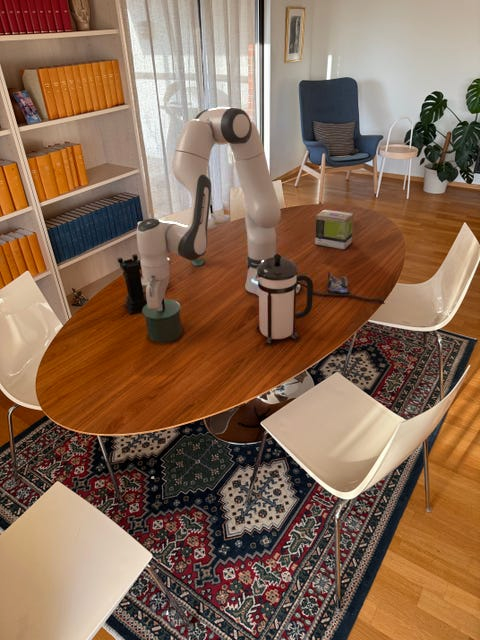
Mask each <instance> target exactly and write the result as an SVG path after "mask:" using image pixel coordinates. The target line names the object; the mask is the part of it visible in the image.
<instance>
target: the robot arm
mask: <svg viewBox="0 0 480 640" xmlns="http://www.w3.org/2000/svg"><path fill="white" fill-rule="evenodd" d="M182 127H183V128H182V129H181V131H180V134H179V136H178V139H177V143H176V146H175V149H174V154H173V157H172V161H171V162H172V163H171V170H172V173H173V175H174V177H175V179H176V180H177V181H178V182H179V183H180V184H181V185H182V186H183V187H184V188H185V189H186V190H188V192H189V194H190V197H191V207H190V208H191V209H190V215H189V216H190V217H189V223H188V225H184V224H181V223H179V222H176V221H175V222H174V221H170V220H169V221H168V220H165V221H163V220H160V219H159V218H155V217H150V218H145V219H143V220H142V221H140V222H139V223H138V225H137V226H136V244H137V250H138V253H139V255H140V260H141V261H140V263H141V269H140V270H141V275H142V276H143V278H144V279H146V280H147V281H148V284H147V287H146V292H145V297H146V299H147V306H148V308H149V309H157V311H162V309H163V304H162V303H161V302H162V300H163V298H164V303H165V299H166V298H165V297H166V291H167V288H168V286H169V284H168V283H170V278H171V277H170V275H171V270H170V269H171V267H170V265H171V259H170V257H169V254H174V255H177V256H180V257H181V258H184V259H186V260H188V261H191V260H196V259H198V258H199V257H201V256H202V255H203V254H204V252H205V251H206V252H207V248H208V225H209V215H210V207H211V200H212V199H211V198H212V182H211V179H210V178H209V174H208V170H209V169H208V168H209V162H210V159H211V154H212V149H213V147H214V146H215V145H221V146H222V145H229V147H230V150H231V155H232V159H233V163H234V167H235V170H236V174H237V178H238V182H239V184H240V187H241V191H242V194H243V197H242V202H243V203H242V204H243V213H244V222H245V229H246V230H245V231H246V238H247V241H246V242H247V254H246V269H247V274H246V279H245V284H244V288H245V290H246V291H247V292H249V293H251V294H253V295H256V296H258V297H259V287H258V281H254V279H255V276H256V273H257V268H258V267H259V265H260V263H261V262H262V261H264V260H265V259H268V258H272V257H274V255H275V254H280V255H281V253H280V252H277V232H276V228H275V226H277V225H278V224H279V222H280V220H281V217H282V212H281V208H280V203H279V199H278V195H277V193H276V190H275V186H274V183H273V180H272V177H271V174H270V171H269V166H268V162H267V157H266V153H265V148H264V144H263V140H262V137H261V135H260V132H259V130H258V127H257V125H256V124H255V123H254V122H253V121H251V118H250V117H249V114H248V113H247V112H246V111H245V110H244V109H242V108H239V107H236V106H235V107H234V106H232V107H225V106H219V107H216V108H207V109H204V110H201V111H199V113H197V114H196V116H195V117H194V119H190V120H188V121H186V122H185V123H184V125H183V126H182ZM301 287H304V288H305V289H307V284H305V283H302V282H301V281H297V286H296V295H297V294H298V293H300V291H301ZM313 295H316V296H322V297H323V296H324V297H325V296H326V297H349V298H354V299H359V300H363V301H368V302H380V303H381V305H385V302H384V300H382V299H380V298H376V297H375V298H370V297H369V298H368V297H364V296H359V295H355V294H350V293H349V294H338V293H325V292H324V293H323V292H316V291H314V290H313Z"/></svg>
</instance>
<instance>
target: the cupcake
mask: <svg viewBox="0 0 480 640" xmlns="http://www.w3.org/2000/svg"><path fill="white" fill-rule="evenodd" d="M207 256H208V253H207V250H206V251H205V252H204V254H203V255H202V256H201V257H199V258H198V259H196V260H190V261H191V263H192V265H193V266H196V267H198V266H199V267H200V266H202V265H203V264H204V261H205V259H206V258H207Z"/></svg>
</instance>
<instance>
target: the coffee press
mask: <svg viewBox="0 0 480 640" xmlns="http://www.w3.org/2000/svg"><path fill="white" fill-rule="evenodd" d="M298 268H299V267H298V266H297V265H296V263H295V262H294V261H293V260H292V259H290V258H288V257H283V256H282V255H281V253H280V254H279V253H278V254H275V255H274V257H272V258H268V259H265V260H264V261H262V262H261V263H260V265H259V267H258V268H257V273H256V276H255V279H254V281H258V287H259V296H258V317H259V319H258V320H259V321H258V323H259V325H258V326H257V327H256V330H258V329H259V332H260V333H261V334H262V335H263V336H264V337H266V342H265V343H266V345H270V346H271V345H272V343H273V340H283V339H286V338H289V337H290V338H292V340H294V341H296V340H297V339H298V338H299V335H298V333H297V332H296V323H297V322H296V321H297V320H298V319H302V318H304V317H306V316H308V315H309V314H310V312H311V310H312V308H313V302H314V301H313V300H314V294H313V291H314V283H313V280H312V278H311V277H309V276H308V275H306V274H299V275H298V273H299V269H298ZM297 281H300V282H305V283H306V285H307V288H306V305H305V308H304V309H303V311H301V312H296V311H297V310H296V309H297V308H296V307H297V306H296V304H297V301H296V300H297V294H296V286H297Z"/></svg>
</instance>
